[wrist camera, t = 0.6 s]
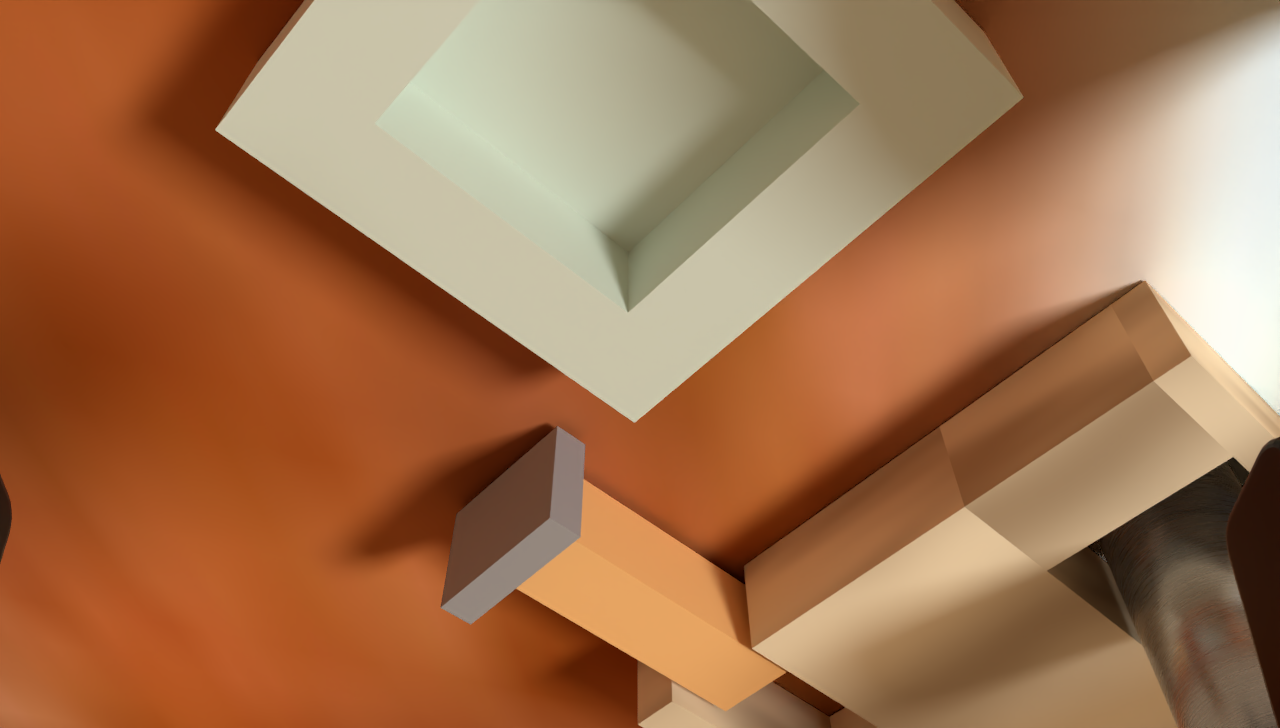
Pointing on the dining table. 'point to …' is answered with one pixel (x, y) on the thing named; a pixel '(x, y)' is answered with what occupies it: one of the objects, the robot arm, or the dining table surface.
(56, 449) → the dining table surface
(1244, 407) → the socket block
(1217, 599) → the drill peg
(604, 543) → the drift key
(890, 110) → the white hollow flat block
